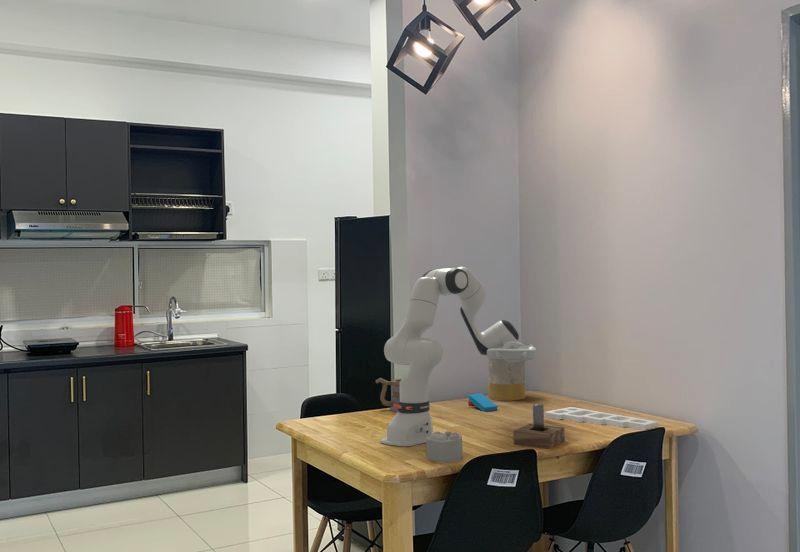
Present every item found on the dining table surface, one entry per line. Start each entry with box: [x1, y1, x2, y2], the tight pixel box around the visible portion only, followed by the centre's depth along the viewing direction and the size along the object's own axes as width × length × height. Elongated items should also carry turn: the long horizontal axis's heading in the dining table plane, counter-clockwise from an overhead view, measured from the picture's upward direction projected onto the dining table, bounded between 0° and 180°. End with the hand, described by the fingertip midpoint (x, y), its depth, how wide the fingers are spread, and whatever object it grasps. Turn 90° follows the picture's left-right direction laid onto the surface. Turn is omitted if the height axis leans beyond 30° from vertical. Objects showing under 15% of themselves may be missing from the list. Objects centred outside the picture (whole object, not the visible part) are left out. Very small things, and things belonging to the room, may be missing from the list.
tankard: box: [375, 377, 402, 413], centre depth 350 cm, size 20×13×15 cm, turn 74°
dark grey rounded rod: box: [532, 403, 545, 431], centre depth 278 cm, size 4×4×13 cm
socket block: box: [513, 423, 566, 449], centre depth 278 cm, size 14×14×5 cm
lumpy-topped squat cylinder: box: [425, 430, 463, 464], centre depth 258 cm, size 10×13×9 cm
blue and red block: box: [467, 393, 498, 413], centre depth 351 cm, size 7×7×18 cm
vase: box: [487, 345, 526, 402], centre depth 377 cm, size 18×18×30 cm
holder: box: [544, 406, 659, 431], centre depth 313 cm, size 45×18×3 cm, turn 36°
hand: (510, 355), depth 301 cm, fingers open, 8 cm apart
